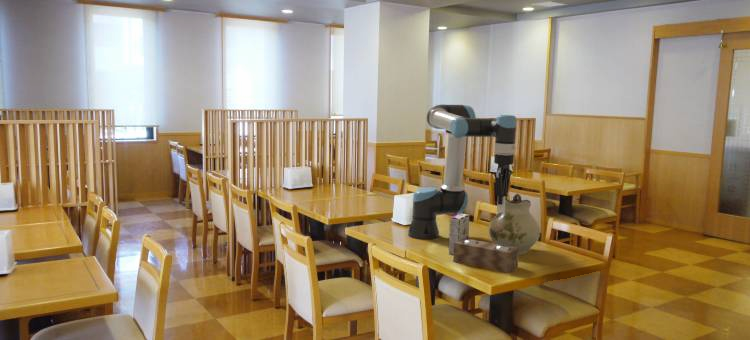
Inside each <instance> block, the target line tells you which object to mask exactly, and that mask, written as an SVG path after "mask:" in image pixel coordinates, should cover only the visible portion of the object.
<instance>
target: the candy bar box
mask: <svg viewBox="0 0 750 340" xmlns="http://www.w3.org/2000/svg"><path fill="white" fill-rule="evenodd" d="M469 233H470V214H469V213H467V214H466V213H461V214H454V215H453V216H451V217H449V234H448V235H449V239H448V254H449V255H452V256H454V243H455V242H457V241H460V240H462V239H464V238H465V239H470V237H469V236H470V234H469Z"/></svg>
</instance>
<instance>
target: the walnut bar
mask: <svg viewBox="0 0 750 340" xmlns="http://www.w3.org/2000/svg"><path fill="white" fill-rule="evenodd" d="M469 239H470V240H472V239H471V238H469ZM464 240H467V239H465V238H464V239H462V240H460V241H457V242H455V243H454V255H453V259H452V260H453V261H452V262H454V263H458V264H463V265H469V266H474V267H479V268H484V269H488V270H494V271H498V272H504V273H511V272H512V271H513V270H516V269H517V268H518V266H519V255H518V253H519V248H517V247H511V246H508V247H509V250H507V251H505V250H499V249H496V246H497V245H500V244H495V243H494V242H488V241H482V240H477V239H475V240H476V241H477V244H475V245H471V244H466V243H464Z"/></svg>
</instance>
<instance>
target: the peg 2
mask: <svg viewBox="0 0 750 340" xmlns="http://www.w3.org/2000/svg"><path fill="white" fill-rule="evenodd" d="M496 249H499V250H505V251H507V250H509V247H508V246H506V245H497V246H496Z"/></svg>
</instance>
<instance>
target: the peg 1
mask: <svg viewBox="0 0 750 340" xmlns="http://www.w3.org/2000/svg"><path fill="white" fill-rule="evenodd" d="M470 239H471V238H469V239H467V240H464V243H466V244H471V245H475V244H477V241H478V240H477V239H471V240H470ZM476 240H477V241H476Z"/></svg>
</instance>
